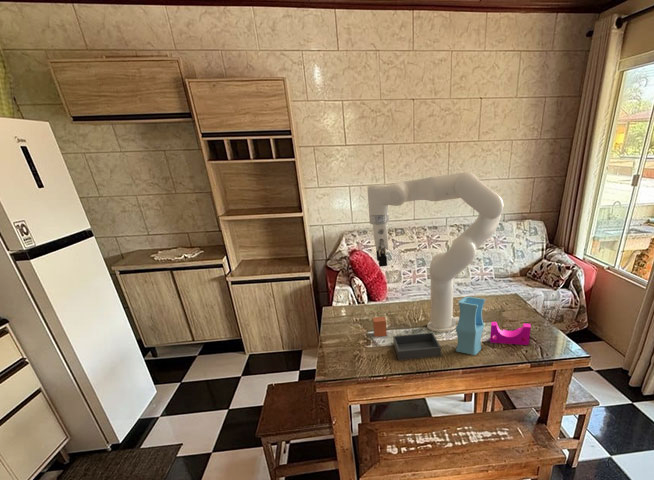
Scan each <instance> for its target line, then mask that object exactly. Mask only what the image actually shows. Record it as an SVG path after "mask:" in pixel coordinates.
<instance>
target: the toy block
mask: <svg viewBox="0 0 654 480" xmlns="http://www.w3.org/2000/svg"><path fill="white" fill-rule="evenodd" d="M531 328H532V325H531V323H525V322H524V323H523V324H522V326H521V327H518V328H516V329H514V330H507V329H504V328H503V329H502V330H501V328H500V327H499V325H498V322H497V321H491V324H490V334H489V335H490V336H489V343H491V344H504V345H505V344H507V345H522V346H529V345H530V337H531V330H532V329H531Z"/></svg>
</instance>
